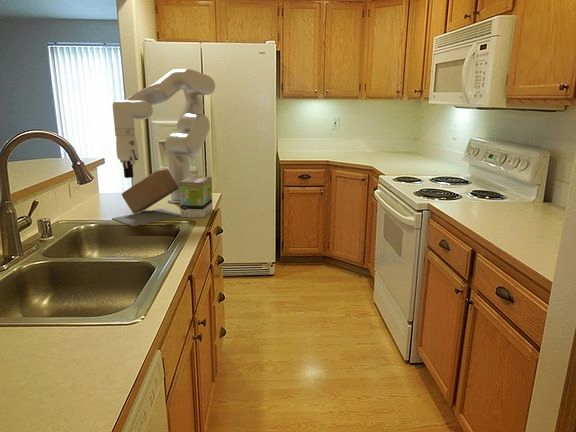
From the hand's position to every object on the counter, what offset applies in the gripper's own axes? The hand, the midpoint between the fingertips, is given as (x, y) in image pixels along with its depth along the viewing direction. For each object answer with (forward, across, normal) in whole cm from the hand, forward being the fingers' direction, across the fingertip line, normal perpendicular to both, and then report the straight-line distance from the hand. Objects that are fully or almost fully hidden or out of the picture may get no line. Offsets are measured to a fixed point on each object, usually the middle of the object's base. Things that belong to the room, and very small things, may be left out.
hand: (128, 177), depth 181 cm
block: (+11, +1, -1) cm, 11 cm away
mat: (+15, -12, 0) cm, 19 cm away
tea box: (+15, -21, -18) cm, 32 cm away
